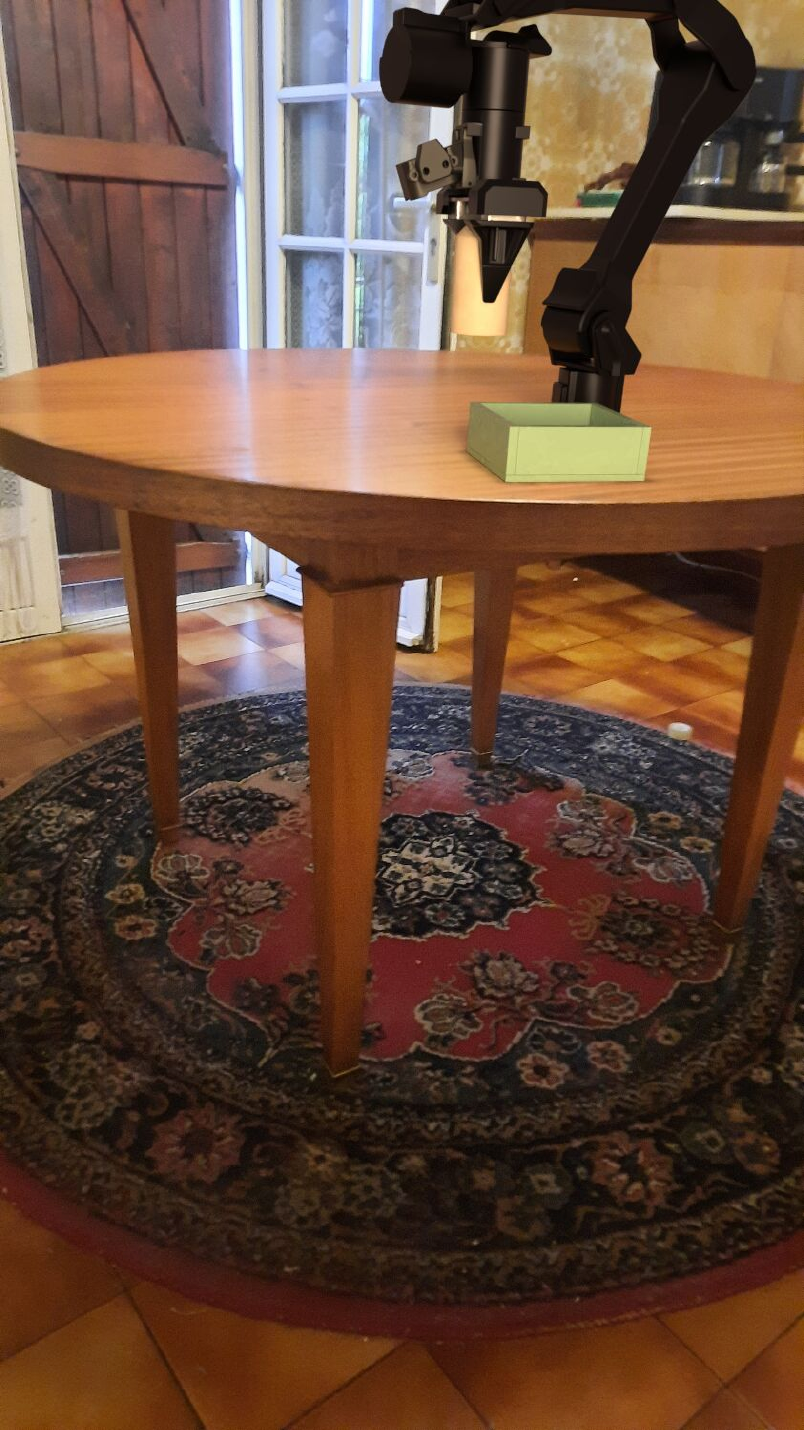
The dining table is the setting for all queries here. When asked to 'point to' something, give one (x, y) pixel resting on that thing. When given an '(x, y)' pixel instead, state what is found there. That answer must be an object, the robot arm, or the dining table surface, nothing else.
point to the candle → (475, 293)
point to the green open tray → (557, 442)
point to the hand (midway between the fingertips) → (481, 300)
